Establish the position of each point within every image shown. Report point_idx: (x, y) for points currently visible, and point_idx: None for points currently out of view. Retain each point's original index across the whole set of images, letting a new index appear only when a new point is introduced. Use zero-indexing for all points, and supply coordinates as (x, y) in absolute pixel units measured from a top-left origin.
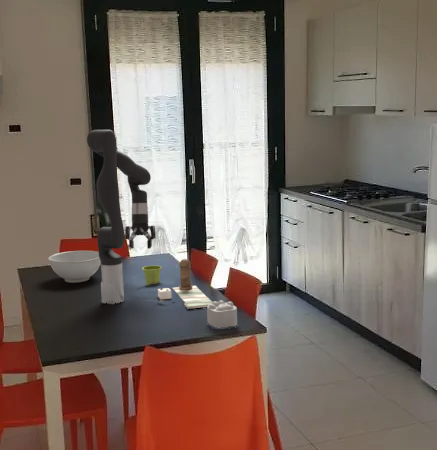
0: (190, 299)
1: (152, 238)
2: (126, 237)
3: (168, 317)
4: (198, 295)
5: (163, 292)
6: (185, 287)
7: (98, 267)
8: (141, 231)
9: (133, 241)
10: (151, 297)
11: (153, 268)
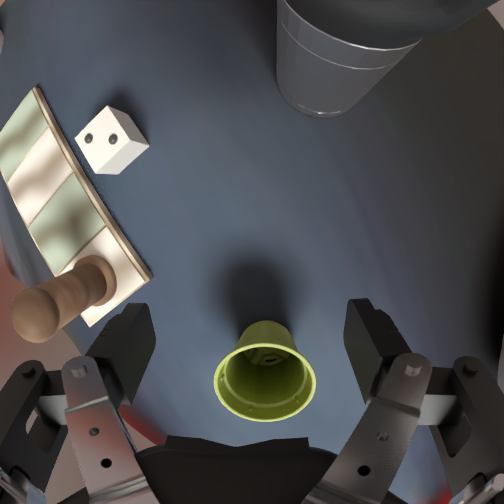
0: (39, 153)
1: (34, 362)
2: (471, 370)
3: (72, 17)
4: (34, 206)
5: (98, 116)
6: (83, 263)
7: (499, 370)
8: (142, 481)
9: (363, 392)
10: (188, 166)
11: (275, 408)
